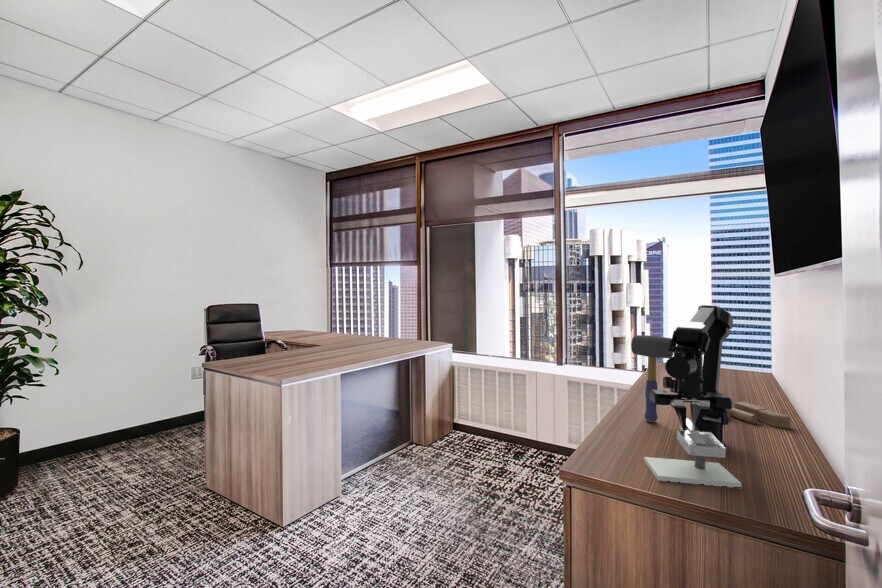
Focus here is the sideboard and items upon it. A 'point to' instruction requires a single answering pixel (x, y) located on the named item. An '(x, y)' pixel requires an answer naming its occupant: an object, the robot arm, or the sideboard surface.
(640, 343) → the rubber mallet
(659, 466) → the keeper board
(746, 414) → the wooden block set
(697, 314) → the robot arm
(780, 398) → the sideboard surface
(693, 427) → the steel link
